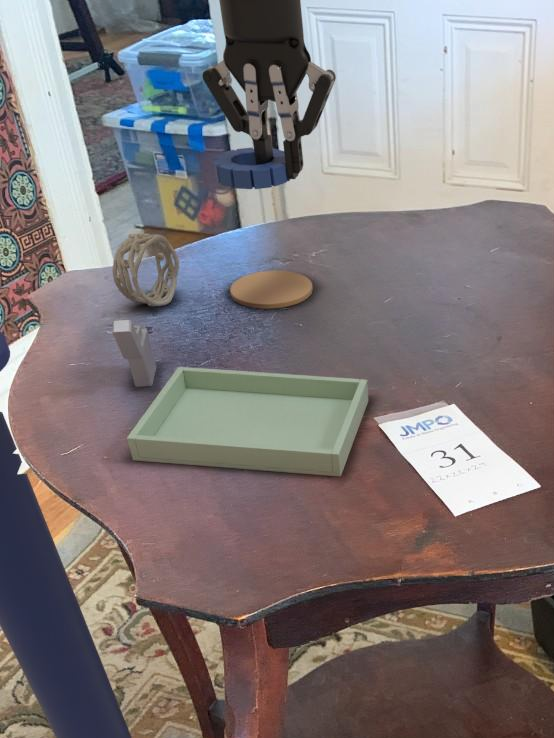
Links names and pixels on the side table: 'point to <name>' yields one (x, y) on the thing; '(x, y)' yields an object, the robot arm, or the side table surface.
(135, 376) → the gray letter y
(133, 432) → the tray
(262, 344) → the side table surface
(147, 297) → the bracelet
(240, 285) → the coaster
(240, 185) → the ring
